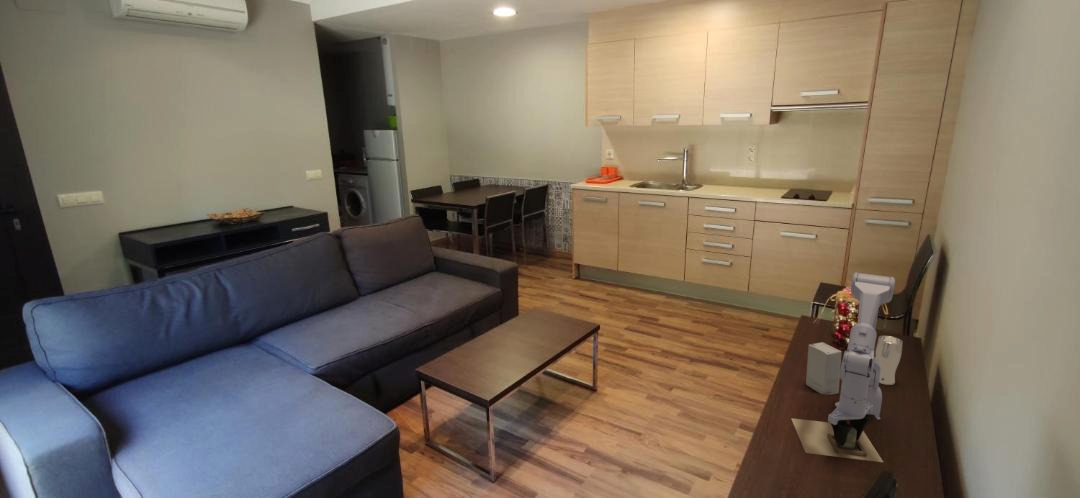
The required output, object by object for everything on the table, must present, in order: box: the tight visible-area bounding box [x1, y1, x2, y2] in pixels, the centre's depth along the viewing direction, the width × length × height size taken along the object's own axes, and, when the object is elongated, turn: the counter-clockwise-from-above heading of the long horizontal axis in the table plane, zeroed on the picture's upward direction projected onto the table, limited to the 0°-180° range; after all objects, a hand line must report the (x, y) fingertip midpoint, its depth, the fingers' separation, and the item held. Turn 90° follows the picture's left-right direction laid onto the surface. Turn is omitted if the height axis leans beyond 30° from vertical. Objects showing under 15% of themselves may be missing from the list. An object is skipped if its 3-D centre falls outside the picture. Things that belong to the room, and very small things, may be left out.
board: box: [790, 418, 884, 463], centre depth 134 cm, size 18×16×2 cm
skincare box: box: [805, 342, 843, 396], centre depth 159 cm, size 8×6×15 cm
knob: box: [837, 427, 857, 450], centre depth 130 cm, size 4×4×5 cm
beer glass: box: [875, 335, 904, 386], centre depth 163 cm, size 7×7×15 cm
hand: (846, 440), depth 130 cm, fingers open, 5 cm apart
